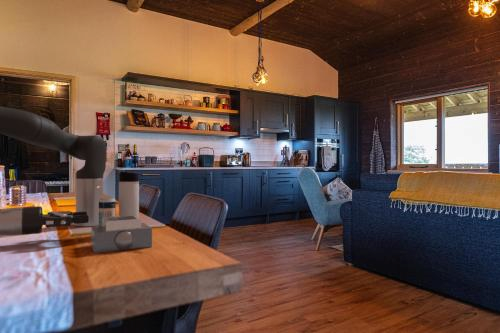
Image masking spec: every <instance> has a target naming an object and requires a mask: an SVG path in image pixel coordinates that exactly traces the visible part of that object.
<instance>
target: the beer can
mask: <svg viewBox="0 0 500 333" xmlns="http://www.w3.org/2000/svg"><path fill="white" fill-rule="evenodd" d="M116 202H117V200H116V198H115V197H110V196H109V197H103V198H100V200H99V225H98V226H102V217H116V216H117V212H116V209H117V208H116V207H117V203H116Z"/></svg>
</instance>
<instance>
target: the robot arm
mask: <svg viewBox="0 0 500 333" xmlns="http://www.w3.org/2000/svg"><path fill="white" fill-rule="evenodd" d="M0 134H1V135H4V136H7V137H9V138H13V139H16V140H18V141H21V142H24V143H28V144H31V145H34V146H38V147H41V148H46V149H48V150H55V151H58V152H60V153H63V154H65V155H68V156H70V157H73V158H74V159H77V160H79V161H84V165H83V166H82V167H81V168H80V169H78V170H76V172H75V211H70V210H67V211H66V210H65V211H64V210H60V211H57V210H56V211H55V210H54V211H49V212H47V213H46V214H44V213H43V207H42V206H38V205H36V206H20V207H18V206H17V207H8V208H0V236H1V237H2V236H3V237H5V236H7V237H10V236H11V237H13V236H26V235H27V236H28V235H37V234H39V235H40V234H42V232H43V226H45V228H47V229H48V228H57V227H58V228H59V227H71V226H72V225H75V226H76V227H96V226H99V200H100V198H104V173H105V172H106V167H107V165H106V164H107V150H108V149H107V145H106V141H105V139H104V138H103V137H102V136H100V135H95V134H94V135H93V134H92V135H78V134H74V133H70V132H67V131H65V130H63V129H61V128H60V127H59V126H58V125H57V124H56V123H55V122H54V121H52V120H51V119H48V118H46V117H44V116H41V115H39V114H36V113H33V112H30V111H25V110H22V109H16V108H12V107H7V106H6V107H5V106H1V105H0Z"/></svg>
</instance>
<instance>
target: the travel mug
mask: <svg viewBox="0 0 500 333" xmlns="http://www.w3.org/2000/svg"><path fill="white" fill-rule="evenodd" d="M139 183H140V173H137V172H127V171H119V173H118V216H131V215H135V216H137V217H138V218H140V184H139Z"/></svg>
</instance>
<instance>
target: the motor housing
mask: <svg viewBox="0 0 500 333" xmlns="http://www.w3.org/2000/svg"><path fill="white" fill-rule="evenodd" d="M90 228H91V231H90V236H91V237H90V243H91V244H90V246H91V248H92V252H93V254H99V253H101V254H102V253H108V252H119V251H126V250H127V251H128V250H136V249H145V248H152V247H153V227H151V226H150V225H148V224H147V223H145V222H142V219H141V218H140V217H139V218H138V217H137V216H135V215H131V216H119V215H118V216H117V215H116V217H102V226H99V225H96V226H90Z"/></svg>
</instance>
